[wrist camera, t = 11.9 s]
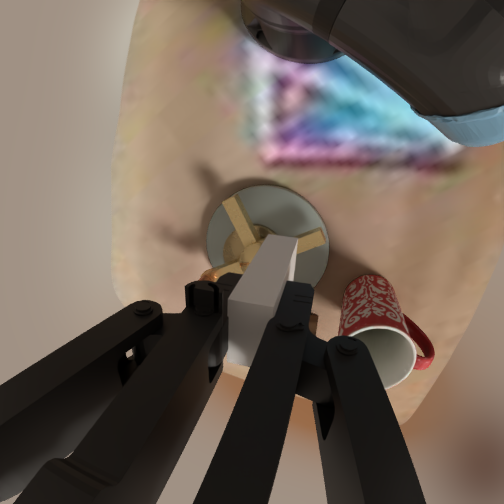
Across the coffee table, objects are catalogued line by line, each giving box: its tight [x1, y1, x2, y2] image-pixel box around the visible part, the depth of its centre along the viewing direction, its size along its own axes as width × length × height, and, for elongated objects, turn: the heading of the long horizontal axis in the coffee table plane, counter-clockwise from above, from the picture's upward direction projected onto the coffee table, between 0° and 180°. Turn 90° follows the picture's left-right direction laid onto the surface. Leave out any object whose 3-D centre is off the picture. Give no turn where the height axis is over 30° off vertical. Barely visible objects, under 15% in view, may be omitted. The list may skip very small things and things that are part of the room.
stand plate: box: [206, 185, 329, 288], centre depth 42 cm, size 16×16×2 cm
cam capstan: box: [198, 194, 326, 282], centre depth 39 cm, size 16×16×7 cm
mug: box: [338, 275, 435, 390], centre depth 36 cm, size 13×9×14 cm
